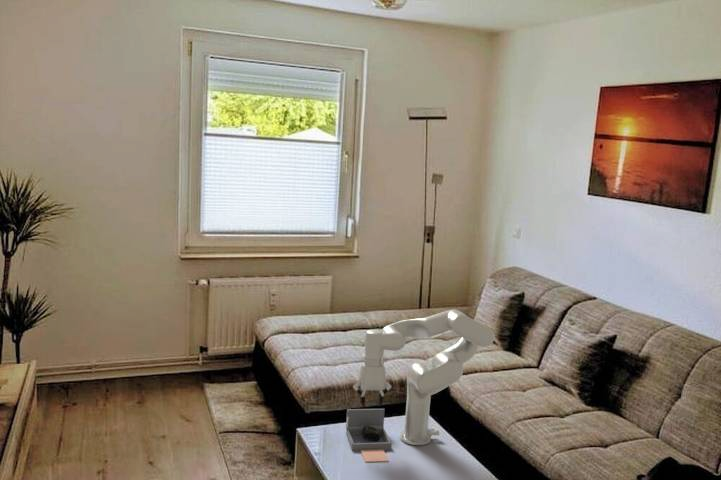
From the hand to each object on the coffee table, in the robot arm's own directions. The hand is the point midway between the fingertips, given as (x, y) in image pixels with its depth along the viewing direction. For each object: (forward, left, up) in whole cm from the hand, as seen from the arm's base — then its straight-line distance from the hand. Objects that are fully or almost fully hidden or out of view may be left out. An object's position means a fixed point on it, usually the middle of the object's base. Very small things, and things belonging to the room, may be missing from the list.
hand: (371, 404), depth 242 cm
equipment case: (0, 0, -16) cm, 16 cm away
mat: (0, +12, -16) cm, 20 cm away
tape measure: (+1, 0, -15) cm, 15 cm away
